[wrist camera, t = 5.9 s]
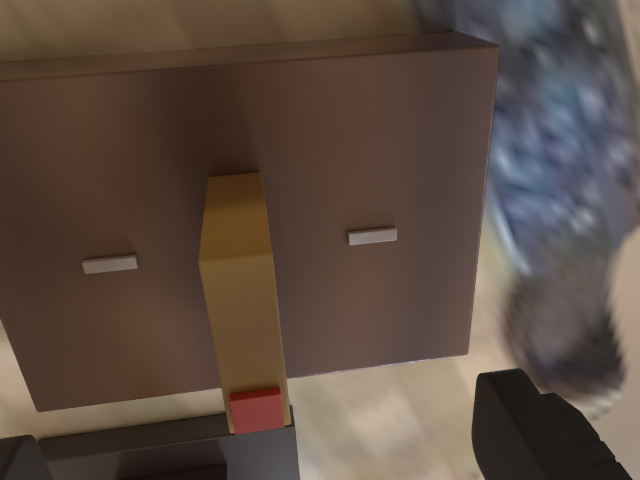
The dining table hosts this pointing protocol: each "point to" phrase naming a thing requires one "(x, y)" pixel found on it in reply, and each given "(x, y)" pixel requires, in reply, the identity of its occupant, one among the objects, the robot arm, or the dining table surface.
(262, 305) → the bar
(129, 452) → the handle bracket
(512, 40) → the dining table surface
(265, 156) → the plate
